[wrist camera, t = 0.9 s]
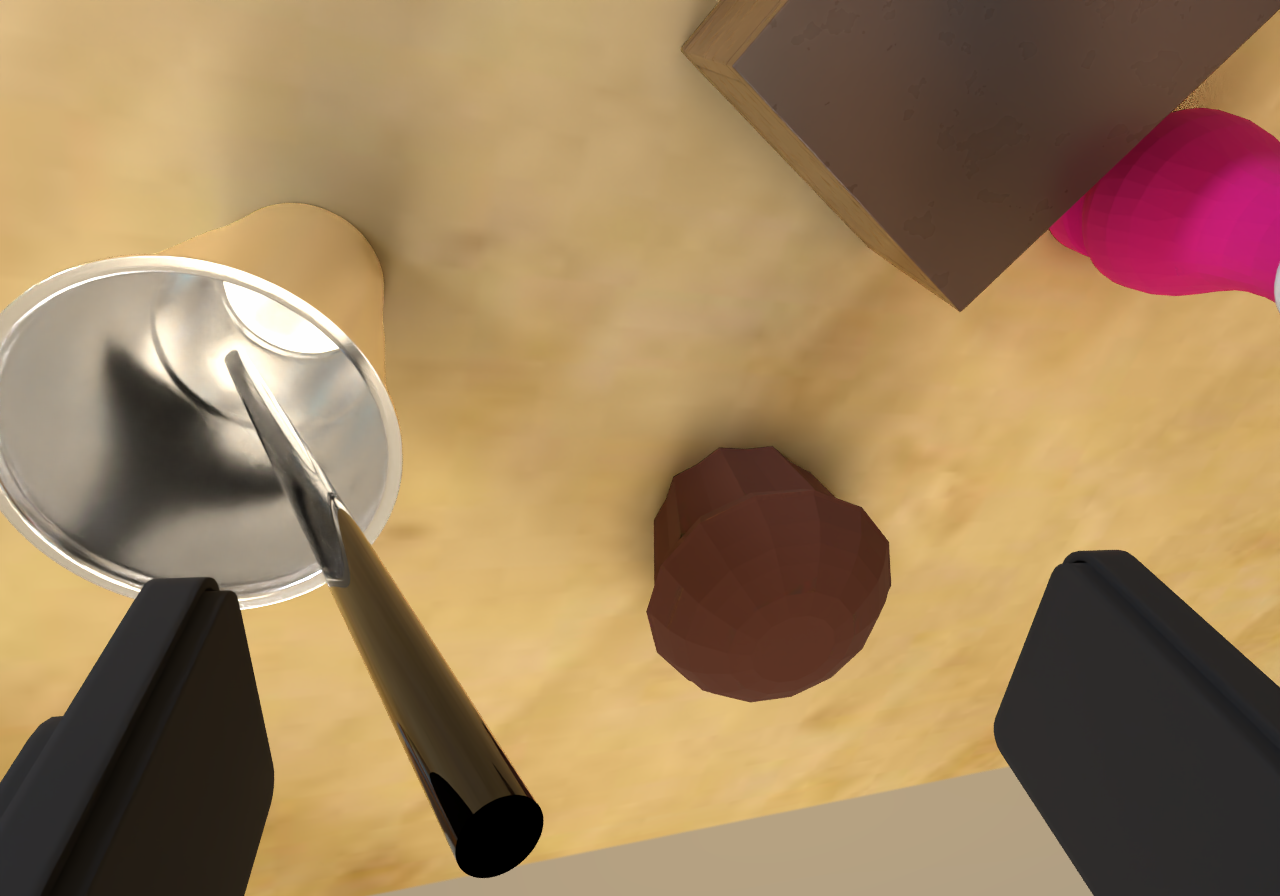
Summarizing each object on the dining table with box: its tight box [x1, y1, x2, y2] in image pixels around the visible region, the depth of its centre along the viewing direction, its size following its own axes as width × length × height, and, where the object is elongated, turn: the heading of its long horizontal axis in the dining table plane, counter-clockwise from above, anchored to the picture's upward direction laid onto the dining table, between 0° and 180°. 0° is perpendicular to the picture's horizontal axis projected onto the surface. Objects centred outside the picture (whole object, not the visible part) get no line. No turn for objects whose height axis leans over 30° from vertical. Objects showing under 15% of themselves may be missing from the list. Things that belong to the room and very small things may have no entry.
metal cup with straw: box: [0, 203, 543, 878], centre depth 21 cm, size 11×11×30 cm
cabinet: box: [681, 0, 1280, 312], centre depth 29 cm, size 14×12×9 cm
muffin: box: [646, 446, 891, 702], centre depth 39 cm, size 12×11×10 cm
